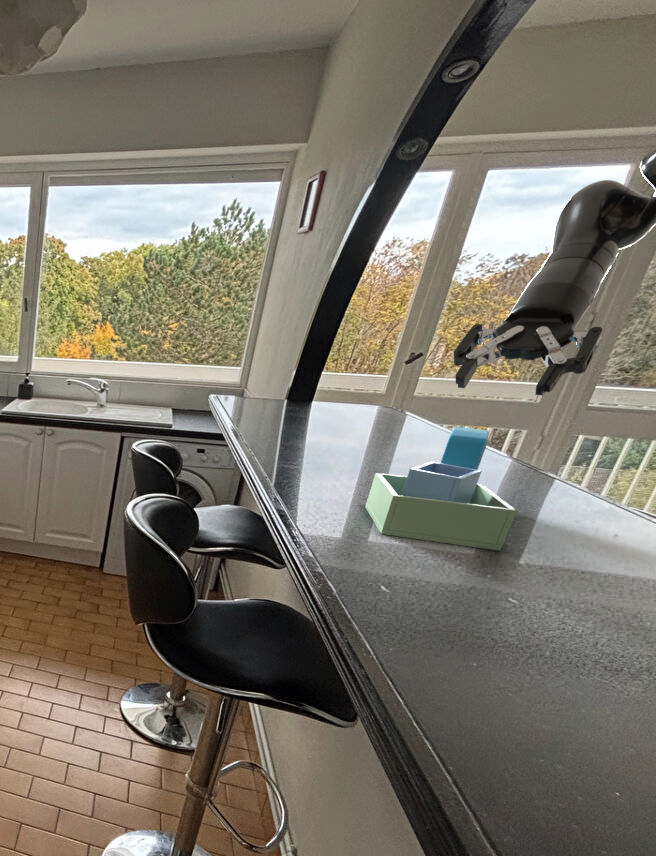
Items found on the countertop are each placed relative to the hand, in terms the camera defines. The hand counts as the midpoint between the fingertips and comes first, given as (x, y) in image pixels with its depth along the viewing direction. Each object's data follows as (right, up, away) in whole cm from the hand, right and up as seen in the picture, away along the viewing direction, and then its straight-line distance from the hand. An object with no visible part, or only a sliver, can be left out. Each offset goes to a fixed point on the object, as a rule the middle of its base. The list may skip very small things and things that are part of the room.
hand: (498, 387), depth 83 cm
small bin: (-6, -19, +4) cm, 20 cm away
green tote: (-6, -20, +5) cm, 21 cm away
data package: (+5, -16, +15) cm, 22 cm away
